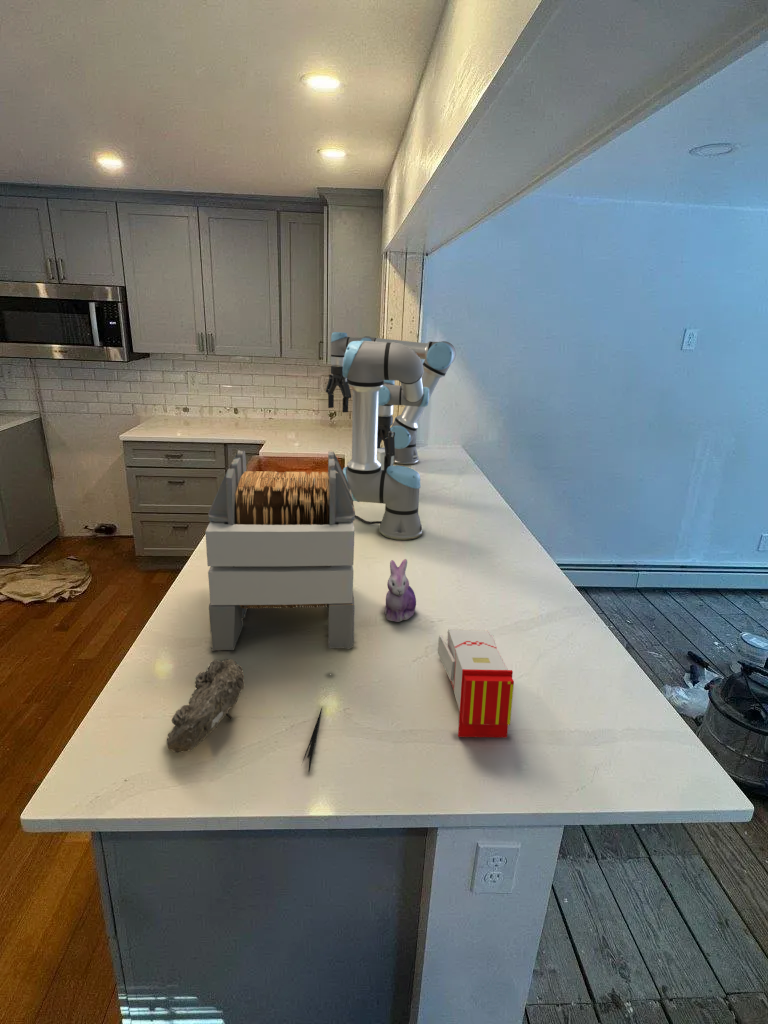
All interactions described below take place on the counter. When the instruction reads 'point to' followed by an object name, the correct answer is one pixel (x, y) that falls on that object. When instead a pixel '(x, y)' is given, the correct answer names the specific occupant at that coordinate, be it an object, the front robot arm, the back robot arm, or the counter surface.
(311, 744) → the dark thin pointed piece
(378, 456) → the fish oil box
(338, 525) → the record crate stand
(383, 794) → the counter surface
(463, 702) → the toy
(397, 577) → the figurine
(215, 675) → the fossil
